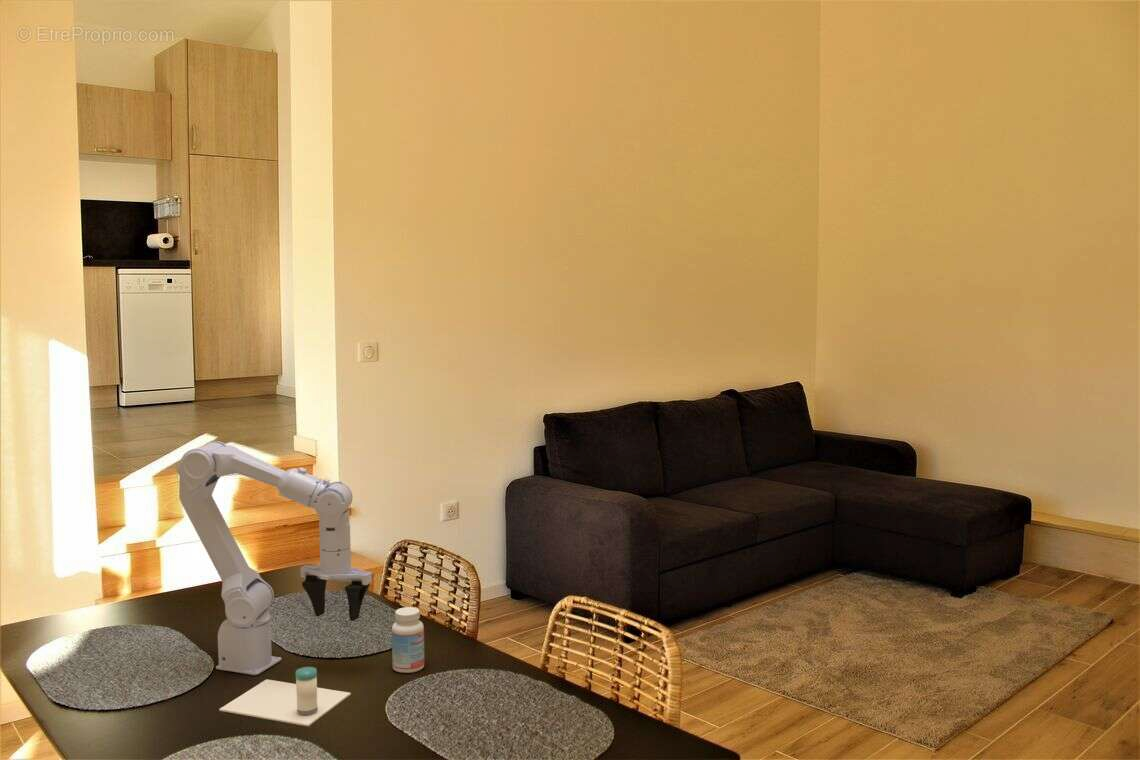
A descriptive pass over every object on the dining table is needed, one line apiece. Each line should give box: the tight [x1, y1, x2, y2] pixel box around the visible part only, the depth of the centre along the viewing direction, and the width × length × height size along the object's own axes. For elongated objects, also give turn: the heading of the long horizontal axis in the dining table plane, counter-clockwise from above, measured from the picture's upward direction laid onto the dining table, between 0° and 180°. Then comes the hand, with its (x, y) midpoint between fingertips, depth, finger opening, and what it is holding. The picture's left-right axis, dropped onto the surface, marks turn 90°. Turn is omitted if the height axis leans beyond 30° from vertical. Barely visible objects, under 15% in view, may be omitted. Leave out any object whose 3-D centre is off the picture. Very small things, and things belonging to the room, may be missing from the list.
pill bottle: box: [391, 606, 425, 674], centre depth 181 cm, size 6×6×11 cm
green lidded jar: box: [295, 666, 318, 716], centre depth 162 cm, size 4×4×7 cm
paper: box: [218, 679, 352, 727], centre depth 167 cm, size 18×13×1 cm
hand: (337, 616), depth 181 cm, fingers open, 7 cm apart
